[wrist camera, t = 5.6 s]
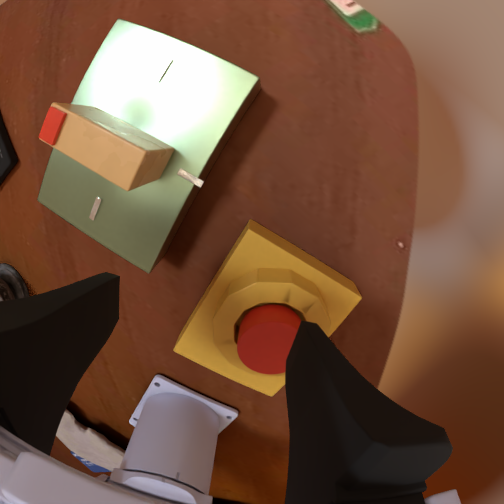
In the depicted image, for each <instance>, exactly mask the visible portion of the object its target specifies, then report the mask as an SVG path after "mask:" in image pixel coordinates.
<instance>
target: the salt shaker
mask: <svg viewBox="0 0 504 504" xmlns="http://www.w3.org/2000/svg"><path fill="white" fill-rule="evenodd" d="M25 297H29V292H28V290H27V287H26V285H25V283H24V281H23V279H22V277H21V276H20V275H19V273H18V272H17V271H16V270H15V269H14V268H13V267H11V266H10V265H8V264H5V263H3V264H0V301H5V300H13V299H20V298H25Z"/></svg>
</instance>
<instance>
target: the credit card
mask: <svg viewBox="0 0 504 504" xmlns="http://www.w3.org/2000/svg"><path fill="white" fill-rule="evenodd" d="M70 452H71V454H73V455H74V456H75V457H76V458H77V459H78V460H80V461H81V462H82V463H83V464H84V465H86V466H87V467H88V468H89V469H90V470H92V471H93V472H111V471H110V470H108V469H106V468H104V467H101V466H99V465H96V464H94V463H92V462H90V461H87V460H86V459H84V458H82V457H80V456H78V455H77V454H76V453H74V452H73V451H70Z"/></svg>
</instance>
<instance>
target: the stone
mask: <svg viewBox="0 0 504 504" xmlns="http://www.w3.org/2000/svg"><path fill="white" fill-rule="evenodd" d="M56 436H57V437H58V438H59V439H60V440H61V441H62V442H63V443H64V444H65V445H66V446H67V447H68V448H69V449H70V450H71V451H73V452H74V453H76V454H77V455H78V456H80V457H82V458H84V459H86V460H87V461H90V462H92V463H94V464H96V465H99V466H101V467H104V468H106V469H108V470H110V471H113V468H118V469H119V467H120V465H121V462H122V459H123V457H124V454H125V452H126V451H125V450H123V449H122V448H121V447H119V446H117V445H116V444H114V443H112V442H110V441H109V440H108V439H107V438H106V437H105V436H104V435H103V434H101V433H98V432H96V431H95V430H93V429H91V428H88V427H86V426H84V425H82V424H81V423H79V422H78V421H77V420H76V419H75V418H74V416H73V415H72V414H71V413H70V412H69V411H68V410H65V412H64V414H63V417H62V419H61V422H60V425H59V427H58V430H57V433H56Z"/></svg>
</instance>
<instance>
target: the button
mask: <svg viewBox="0 0 504 504" xmlns="http://www.w3.org/2000/svg"><path fill="white" fill-rule="evenodd" d="M300 323H301V319H300V317H299V316H298V315H297V314H296V313H295V312H294V311H293V310H291V309H289V308H287V307H285V306H282V305H275V304H268V305H263V306H259V307H257V308H255V309H253V310H251V311H250V312H249V313H247V314H246V315H245V317H244V318H243V320H242V321H241V324H240V328H239V335H238V342H237V353H238V356H239V358H240V360H241V361H242V362H243V364H244V365H245V366H247V367H248V368H249V369H251V370H253V371H255V372H258V373H261V374H269V375H274V374H281V373H284V372H285V370H286V359H287V356H288V354H289V351H290V349H291V346H292V344H293V341H294V339H295V336H296V334H297V331H298V328H299V326H300Z"/></svg>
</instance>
